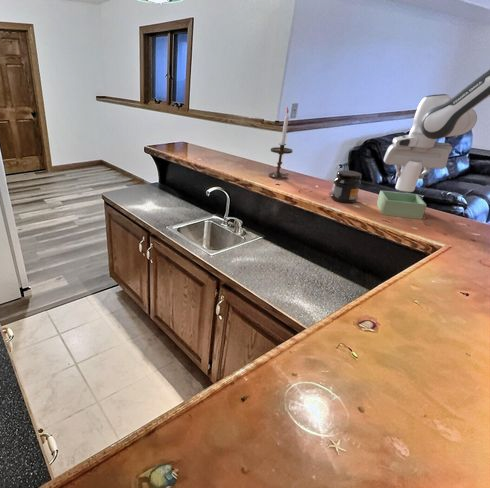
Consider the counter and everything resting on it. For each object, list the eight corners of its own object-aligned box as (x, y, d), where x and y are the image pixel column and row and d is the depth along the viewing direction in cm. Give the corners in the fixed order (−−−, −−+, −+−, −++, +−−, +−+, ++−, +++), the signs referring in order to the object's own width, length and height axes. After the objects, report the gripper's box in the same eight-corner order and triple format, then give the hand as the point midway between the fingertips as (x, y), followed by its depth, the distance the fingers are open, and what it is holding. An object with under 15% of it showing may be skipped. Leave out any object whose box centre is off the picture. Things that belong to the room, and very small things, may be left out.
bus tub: (412, 207, 146) (417, 194, 144) (421, 219, 135) (426, 204, 132) (376, 203, 150) (380, 190, 148) (381, 214, 139) (386, 200, 136)
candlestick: (263, 174, 191) (272, 106, 175) (280, 173, 193) (291, 105, 178) (273, 180, 181) (284, 108, 166) (291, 178, 184) (304, 107, 168)
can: (398, 191, 136) (408, 161, 131) (392, 186, 142) (401, 157, 137) (416, 193, 135) (427, 162, 130) (410, 188, 141) (420, 158, 135)
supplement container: (361, 201, 152) (368, 174, 147) (344, 205, 148) (351, 177, 143) (341, 194, 161) (347, 169, 155) (324, 197, 157) (330, 171, 151)
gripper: (450, 141, 130) (437, 178, 136) (388, 137, 136) (378, 172, 142) (457, 144, 124) (442, 182, 130) (392, 140, 130) (381, 176, 137)
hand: (408, 177), depth 136 cm, fingers closed on can, 6 cm apart
